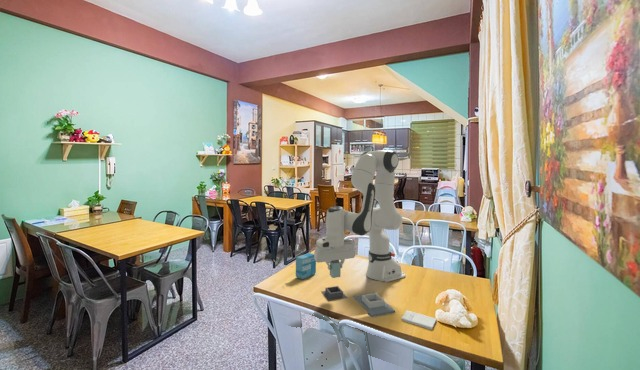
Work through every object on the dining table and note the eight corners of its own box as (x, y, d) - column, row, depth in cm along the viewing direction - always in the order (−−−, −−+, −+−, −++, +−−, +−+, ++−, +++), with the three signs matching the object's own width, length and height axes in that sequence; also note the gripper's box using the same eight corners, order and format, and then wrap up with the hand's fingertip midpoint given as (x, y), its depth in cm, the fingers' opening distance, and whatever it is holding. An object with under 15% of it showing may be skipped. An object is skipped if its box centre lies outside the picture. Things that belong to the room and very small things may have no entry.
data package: (301, 280, 160) (301, 259, 159) (295, 278, 163) (295, 257, 162) (315, 274, 169) (316, 253, 168) (310, 272, 172) (310, 252, 171)
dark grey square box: (339, 290, 148) (339, 284, 148) (347, 299, 139) (347, 292, 138) (320, 293, 145) (321, 286, 144) (328, 303, 135) (328, 295, 135)
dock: (374, 294, 144) (374, 287, 144) (395, 312, 127) (395, 305, 127) (352, 297, 140) (352, 291, 140) (370, 317, 124) (371, 309, 123)
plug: (337, 273, 144) (337, 257, 143) (340, 276, 140) (340, 260, 139) (329, 274, 142) (329, 258, 141) (332, 278, 138) (332, 261, 138)
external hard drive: (432, 331, 115) (401, 321, 122) (436, 322, 122) (406, 312, 129) (432, 327, 115) (401, 317, 122) (436, 318, 122) (407, 309, 128)
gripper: (352, 236, 145) (351, 263, 147) (313, 240, 139) (313, 268, 140) (357, 240, 140) (357, 268, 141) (317, 244, 133) (317, 273, 134)
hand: (335, 268), depth 141 cm, fingers closed on plug, 4 cm apart
